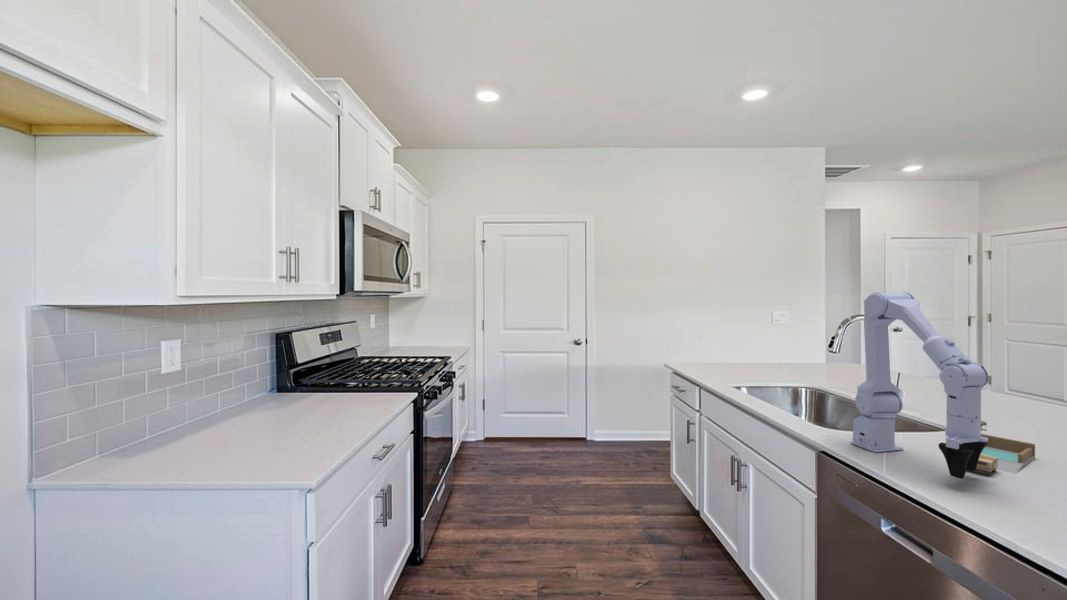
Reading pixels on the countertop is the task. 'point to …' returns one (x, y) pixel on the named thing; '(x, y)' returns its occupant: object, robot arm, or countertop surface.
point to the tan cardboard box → (986, 465)
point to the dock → (1011, 452)
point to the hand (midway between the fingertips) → (962, 473)
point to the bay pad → (1000, 455)
